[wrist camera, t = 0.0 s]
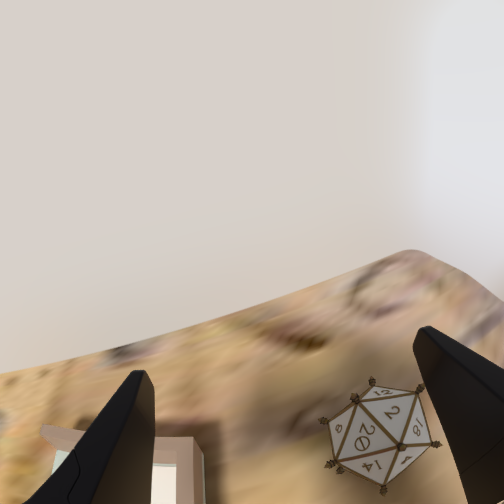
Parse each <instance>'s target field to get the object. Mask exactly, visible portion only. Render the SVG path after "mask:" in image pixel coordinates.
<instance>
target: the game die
mask: <svg viewBox="0 0 504 504" xmlns="http://www.w3.org/2000/svg"><path fill="white" fill-rule="evenodd" d="M375 380H376V379H374V378H373V377H372V376H371V377H370V380H369V382H370V383H369V385H370V386H371V387H370V388H368V389H367V390H366V391H365V392H364V393H363V394H361V395H360V396H358V395H357V393H356V394H354V393H352V394H351V398H350V400H352V403H350V404H349V405H348V406H347V407H345V408H344V409H343V410H342V411H340V412H339V413H338V414H336V415H335V416H334V417H333V418H331V419H330V420H328V419H327V418H324V417H323V418H319V419H318V420H319V421H320V424H321V423H323V424H328V429H329V435H330V440H331V446H332V452H333V458H334V460H330V461H329V462H328V461H327V464H326V465H325V467H324V468H329V469H330V468H332V467H333V466H335V464H337V465H339V466H340V468H339V469H337V470H336V471H337V473H336V474H342V472H344V470H346V471H349V472H351V473H353V474H355V475H357V476H359V477H361V478H363V479H366V480H368V481H370V482H372V483H375V484H377V485H379V486H381V489H380V493H381V494H382V496H383V497H385V495H386V493H387V488H386V485H387V484H388V483H389V482H390V481H392V480H393V479H394V478H395V477H397V476H398V475H399V474H400V473H401V472H403V471H404V470H405V469H406V468H407V467H408V466H410V465H411V464H412V463H413V462H414V461H415V460H416V459H417V458H418V457H420V456H421V455H422V454H423V453H424V452H425V451H426V450H427V449H428V448H429V447H430V446H432V447H433V448H434V447H436V448H438V447H440V446H443V445H442V444H441V443H440V442H438V441H435V442H432V439H431V435H430V431H429V428H428V424H427V420H426V417H425V413H424V410H423V407H422V403H421V400H420V397H419V393H421V392H422V391H423V390H424V389H425V388H424V387H425V384H424V383H422V384H419V386H418V387H417V389H416V391H415V392H414V391H406V390H399V389H392V388H386V387H380V386H375V383H376V382H375Z"/></svg>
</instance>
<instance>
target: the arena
mask: <svg viewBox="0 0 504 504" xmlns="http://www.w3.org/2000/svg"><path fill="white" fill-rule="evenodd" d="M85 432H86V431H81V430H75V429H68V428H63V427H57V426H52V425H47V424H42V427H41V430H40V435H41V436H42V437H43V438H44V439H45V440H46V441H48V442H49V443H50V444H51V445H52V446H53V447H54V448H56V449H57V452H56V457H55V461H54V465H53V470H52V474H53V473H54V472H55V471H56V469H57V468H58V467H59V466H60V465H61V463H62V462H63V461H64V460H65V458H66V457H67V456H68V454H69V453H70V452H71V450H72V449H74V446H75V445H76V444H77V442H78V441H79V440H80V438H81V437H82V436H83V434H84V433H85ZM151 504H206V501H205V477H204V454H203V453H202V451H201V449H200V448H199V446H198V444H197V442H196V441H195V439H194V437H155V443H154V455H153V470H152V489H151Z"/></svg>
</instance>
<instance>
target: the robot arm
mask: <svg viewBox="0 0 504 504" xmlns="http://www.w3.org/2000/svg"><path fill="white" fill-rule="evenodd" d="M413 352H414V355H415V358H416V361H417V363H418V366H419V369H420V372H421V375H422V378H423V381H424V384H425V387H426V389H427V392H428V394H429V396H430V399H431V401H432V403H433V406H434V408H435V410H436V413H437V415H438V418H439V420H440V423H441V425H442V428H443V430H444V433H445V435H446V438H447V441H448V443H449V446H450V449H451V452H452V454H453V457H454V460H455V463H456V466H457V469H458V472H459V474H460V475H459V476H460V479H461V482H462V485H463V488H464V492H465V495H466V498H467V502H468V504H497V503H499V502H501V501H503V500H504V369H502V368H501V367H499V366H497V365H496V364H494V363H492V362H491V361H489V360H488V359H486V358H484V357H483V356H481V355H479V354H477V353H476V352H474V351H472V350H471V349H469V348H467V347H466V346H464V345H462V344H461V343H459V342H457V341H456V340H454V339H452V338H450V337H449V336H447V335H445V334H444V333H442V332H440V331H438V330H437V329H435V328H433V327H431V326H425V327H422V328H420V329H419V330H418V332H417V335H416V337H415V340H414V343H413ZM154 443H155V392H154V386H153V384H152V382H151V380H150V378H149V376H148V374H147V372H146V371H145V370H133V371H132V372H131V373H130V374H129V375H128V377H127V378H126V379H125V381H124V382H123V383H122V384H121V386H120V387H119V388H118V390H117V391H116V392H115V394H114V395H113V396H112V397H111V399H110V400H109V401H108V403H107V404H106V405H105V407H104V408H103V409H102V411H101V412H100V413H99V414H98V416H97V417H96V418H95V420H94V421H93V422H92V424H91V425H90V426H89V428H88V429H87V430H86V432H85V433H84V434H83V436H82V437H81V438H80V440H79V441H78V442H77V444H76V445H75V446H74V449H72V450H71V452H70V453H69V454H68V456H67V457H66V458H65V460H64V461H63V462H62V463H61V465H60V466H59V467H58V468H57V469H56V471H55V472H54V473H53V474H52V475H51V476H50V477H49V478H48V479H47V480H46V482H45V483H44V484H43V485H42V486H41V487H40V488H39V489H38V490H37V491H36V492H35V493H34V494H33V495H32V496H31V497H30V498H29V499H28V500H27V501H25V502H24V503H22V504H151V489H152V470H153V455H154ZM502 504H504V502H503V503H502Z"/></svg>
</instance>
